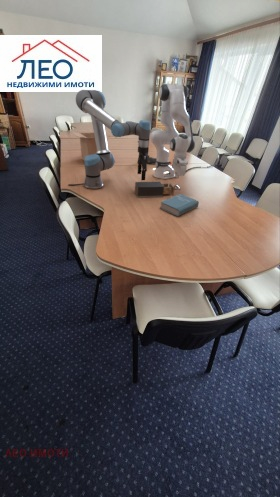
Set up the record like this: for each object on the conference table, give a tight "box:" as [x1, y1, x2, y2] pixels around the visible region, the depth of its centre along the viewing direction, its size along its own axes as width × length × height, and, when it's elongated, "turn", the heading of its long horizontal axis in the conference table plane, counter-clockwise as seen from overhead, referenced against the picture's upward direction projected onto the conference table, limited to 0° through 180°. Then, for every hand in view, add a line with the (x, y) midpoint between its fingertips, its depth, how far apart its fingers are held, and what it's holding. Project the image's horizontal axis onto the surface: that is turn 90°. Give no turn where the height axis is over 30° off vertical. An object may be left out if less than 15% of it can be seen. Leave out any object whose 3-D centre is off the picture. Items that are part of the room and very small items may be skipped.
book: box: [159, 193, 200, 217], centre depth 155 cm, size 23×16×5 cm
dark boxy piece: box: [134, 181, 164, 198], centre depth 172 cm, size 20×11×8 cm, turn 102°
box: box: [70, 129, 114, 161], centre depth 229 cm, size 44×36×27 cm
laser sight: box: [145, 152, 157, 165], centre depth 240 cm, size 10×22×10 cm, turn 78°
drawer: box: [161, 182, 181, 195], centre depth 174 cm, size 24×10×6 cm, turn 102°
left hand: (141, 177), depth 165 cm, fingers open, 13 cm apart
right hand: (176, 177), depth 171 cm, fingers closed
